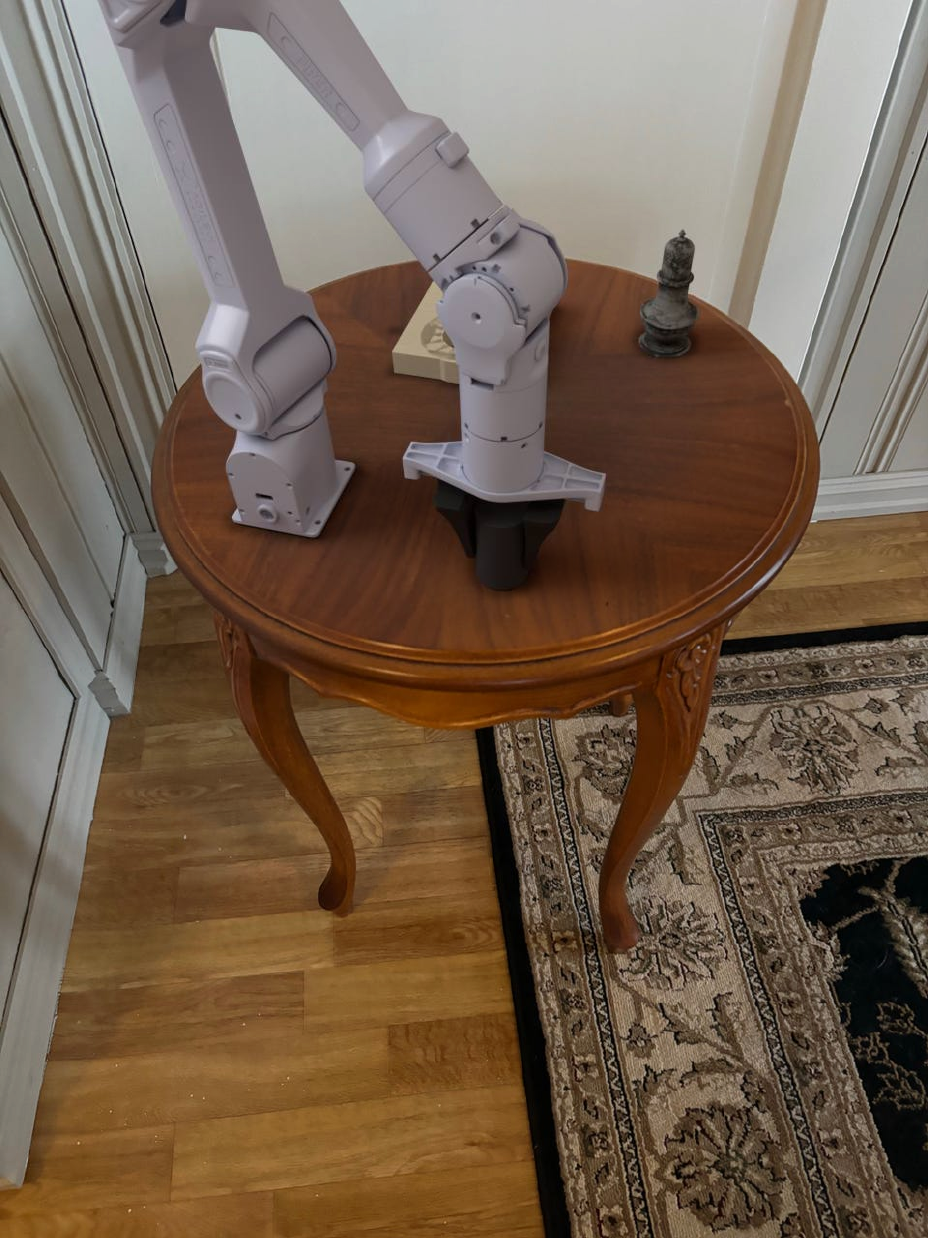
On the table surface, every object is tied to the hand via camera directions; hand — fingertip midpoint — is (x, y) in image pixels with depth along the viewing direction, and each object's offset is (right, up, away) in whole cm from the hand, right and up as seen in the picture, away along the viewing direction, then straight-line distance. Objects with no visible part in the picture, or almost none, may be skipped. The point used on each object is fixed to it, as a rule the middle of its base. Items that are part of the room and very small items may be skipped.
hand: (502, 554), depth 70 cm
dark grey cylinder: (0, -1, +1) cm, 2 cm away
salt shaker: (+18, +23, +21) cm, 36 cm away
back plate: (-2, +24, +22) cm, 33 cm away
